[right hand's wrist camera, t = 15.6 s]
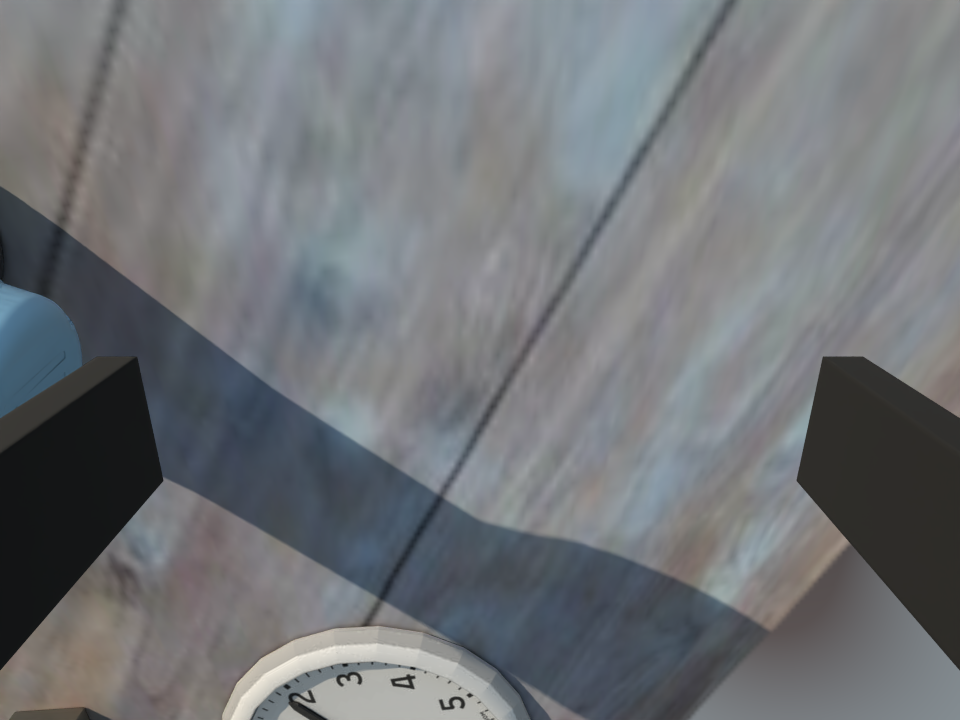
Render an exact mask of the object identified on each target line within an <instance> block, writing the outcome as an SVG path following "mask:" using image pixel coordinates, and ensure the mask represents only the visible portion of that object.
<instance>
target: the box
mask: <svg viewBox="0 0 960 720" xmlns="http://www.w3.org/2000/svg"><path fill="white" fill-rule="evenodd" d="M9 720H89V717H88V715H87V713H86V710H85V708H84V707H82V708H67V709H53V710H38V711H23V712H15V713H14V714H13V715H12V717H11V718H10V719H9Z"/></svg>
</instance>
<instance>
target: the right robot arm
mask: <svg viewBox="0 0 960 720" xmlns="http://www.w3.org/2000/svg"><path fill="white" fill-rule="evenodd" d="M162 482H163V476H162V472H161V467H160V462H159V457H158V453H157V448H156V443H155V439H154V434H153V429H152V425H151V420H150V415H149V410H148V406H147V401H146V396H145V392H144V387H143V382H142V378H141V373H140V368H139V363H138V359H137V357H96V358H94V359H93V360H91V361H89V362H88V363H86V364H85V365H83V366H82V367H80V368H78V369H77V370H75V371H74V372H72V373H71V374H69V375H67V376H66V377H64V378H63V379H61V380H60V381H58V382H56V383H55V384H53V385H52V386H50V387H49V388H47V389H45V390H44V391H42V392H41V393H39V394H38V395H36V396H34V397H33V398H31V399H30V400H28V401H27V402H25V403H23V404H22V405H20V406H19V407H17V408H16V409H14V410H12V411H11V412H9V413H8V414H6V415H5V416H3V417H1V418H0V670H1V669H2V668H3V667H4V665H5V664H6V663H7V662H8V661H9V660H10V658H11V657H12V656H13V655H14V654H15V653H16V651H17V650H18V649H19V648H20V647H21V646H22V644H23V643H24V642H25V641H26V640H27V639H28V637H29V636H30V635H31V634H32V633H33V632H34V631H35V629H36V628H37V627H38V626H39V625H40V624H41V622H42V621H43V620H44V619H45V618H46V617H47V615H48V614H49V613H50V612H51V611H52V610H53V608H54V607H55V606H56V605H57V604H58V603H59V601H60V600H61V599H62V598H63V597H64V596H65V595H66V593H67V592H68V591H69V590H70V589H71V588H72V586H73V585H74V584H75V583H76V582H77V581H78V579H79V578H80V577H81V576H82V575H83V574H84V572H85V571H86V570H87V569H88V568H89V567H90V565H91V564H92V563H93V562H94V561H95V560H96V559H97V557H98V556H99V555H100V554H101V553H102V552H103V550H104V549H105V548H106V547H107V546H108V545H109V543H110V542H111V541H112V540H113V539H114V538H115V536H116V535H117V534H118V533H119V532H120V531H121V529H122V528H123V527H124V526H125V525H126V524H127V523H128V521H129V520H130V519H131V518H132V517H133V516H134V514H135V513H136V512H137V511H138V510H139V509H140V507H141V506H142V505H143V504H144V503H145V502H146V500H147V499H148V498H149V497H150V496H151V495H152V493H153V492H154V491H155V490H156V489H157V488H158V486H159V485H160V484H161V483H162ZM797 482H798V483H799V484H800V485H801V487H802V488H803V489H804V490H805V491H806V492H807V493H808V495H809V496H810V497H811V498H812V499H813V500H814V502H815V503H816V504H817V505H818V506H819V507H820V509H821V510H822V511H823V512H824V513H825V514H826V516H827V517H828V518H829V519H830V520H831V521H832V523H833V524H834V525H835V526H836V527H837V528H838V529H839V531H840V532H841V533H842V534H843V535H844V536H845V538H846V539H847V540H848V541H849V542H850V543H851V545H852V546H853V547H854V548H855V549H856V550H857V552H858V553H859V554H860V555H861V556H862V557H863V559H864V560H865V561H866V562H867V563H868V564H869V565H870V567H871V568H872V569H873V570H874V571H875V572H876V574H877V575H878V576H879V577H880V578H881V579H882V581H883V582H884V583H885V584H886V585H887V586H888V587H889V589H890V590H891V591H892V592H893V593H894V595H895V596H896V597H897V598H898V599H899V600H900V601H901V603H902V604H903V605H904V606H905V607H906V608H907V610H908V611H909V612H910V613H911V614H912V615H913V617H914V618H915V619H916V620H917V621H918V622H919V624H920V625H921V626H922V627H923V628H924V629H925V631H926V632H927V633H928V634H929V635H930V636H931V637H932V639H933V640H934V641H935V642H936V643H937V644H938V646H939V647H940V648H941V649H942V650H943V651H944V653H945V654H946V655H947V656H948V657H949V658H950V660H951V661H952V662H953V663H954V664H955V665H956V667H957V668H958V669H959V670H960V418H959V417H957V416H955V415H954V414H952V413H951V412H949V411H948V410H946V409H944V408H943V407H941V406H940V405H938V404H937V403H935V402H933V401H932V400H930V399H929V398H927V397H926V396H924V395H922V394H921V393H919V392H918V391H916V390H915V389H913V388H911V387H910V386H908V385H907V384H905V383H904V382H902V381H900V380H899V379H897V378H896V377H894V376H893V375H891V374H889V373H888V372H886V371H885V370H883V369H882V368H880V367H878V366H877V365H875V364H874V363H872V362H871V361H869V360H867V359H866V358H864V357H823V359H822V363H821V368H820V373H819V378H818V382H817V387H816V392H815V396H814V401H813V406H812V410H811V415H810V420H809V425H808V429H807V434H806V439H805V443H804V448H803V453H802V457H801V462H800V467H799V472H798V476H797Z"/></svg>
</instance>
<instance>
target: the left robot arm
mask: <svg viewBox="0 0 960 720" xmlns="http://www.w3.org/2000/svg"><path fill="white" fill-rule="evenodd" d="M2 275H3V254H2V247H1V242H0V418H1V417H3V416H5V415H6V414H8V413H9V412H11V411H12V410H14V409H16V408H17V407H19V406H20V405H22V404H23V403H25V402H27V401H28V400H30V399H31V398H33V397H34V396H36V395H38V394H39V393H41V392H42V391H44V390H45V389H47V388H49V387H50V386H52V385H53V384H55V383H56V382H58V381H60V380H61V379H63V378H64V377H66V376H67V375H69V374H71V373H72V372H74V371H75V370H77V369H78V368H80V367H82V353H81V346H80V341H79V337H78V334H77V331H76V329H75V326H74V324H73V323H72V321H71V320H70V319H69V317H68V316H67V315H66V314H65V313H64V311H63V310H62V309H61V308H60V307H59V306H58V305H57V304H56V303H55V302H53V301H52V300H50V299H48V298H46V297H44V296H41V295H38V294H35V293H32V292H29V291H26V290H23V289H20V288H17V287H14V286H10V285H7V284H4V282H3V281H2Z"/></svg>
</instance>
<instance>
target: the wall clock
mask: <svg viewBox="0 0 960 720" xmlns="http://www.w3.org/2000/svg"><path fill="white" fill-rule="evenodd" d="M222 720H531V719H530V717H529V714H528V712H527V710H526V708H525V705H524V703H523V701H522V699H521V696H520V695H519V694H518V693H517V691H516V690H515V689H514V688H513V687H512V686H511V685H510V684H509V682H508V681H507V680H506V679H505V678H504V677H503V676H502V675H501V673H500V672H499V671H498V670H497V669H496V668H494V667H493V666H491V665H490V664H488V663H487V662H485V661H484V660H482V659H481V658H479V657H477V656H476V655H474V654H473V653H471V652H470V651H468V650H467V649H465V648H464V647H461V646H458V645H456V644H453V643H450V642H448V641H445V640H442V639H439V638H437V637H434V636H431V635H429V634H426V633H423V632H416V631H409V630H402V629H396V628H389V627H382V626H372V627H354V628H337V629H332V630H328V631H324V632H321V633H317V634H314V635H310V636H306V637H303V638H299V639H296V640H293V641H291V642H290V643H288V644H286V645H284V646H283V647H281V648H279V649H277V650H275V651H274V652H272V653H270V654H268V655H267V656H265V657H263V658H261V659H260V660H259V661H258V662H257V663H256V664H255V665H254V666H253V667H252V668H251V669H250V670H249V671H248V672H247V673H246V674H245V675H244V677H243V678H242V679H241V680H240V681H239V682H238V683H237V684H236V686H235V689H234V691H233V693H232V695H231V697H230V699H229V702H228V704H227V706H226V708H225V710H224V712H223V715H222Z"/></svg>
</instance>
